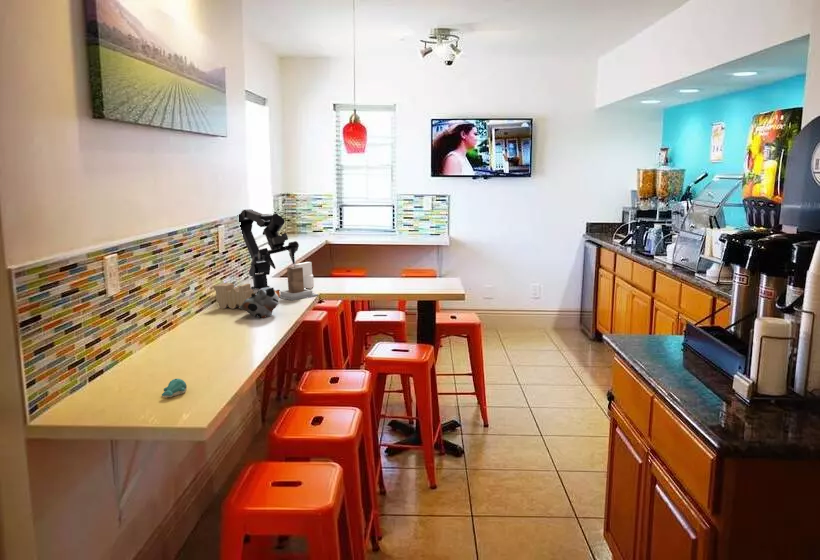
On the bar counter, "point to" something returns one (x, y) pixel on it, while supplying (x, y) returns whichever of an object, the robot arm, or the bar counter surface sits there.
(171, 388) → the whale figurine
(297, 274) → the tapered wooden block
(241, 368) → the bar counter surface
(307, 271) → the cylinder with rectangular tab
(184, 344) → the bar counter surface
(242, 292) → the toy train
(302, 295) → the bay tray
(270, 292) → the lucky cat figurine
